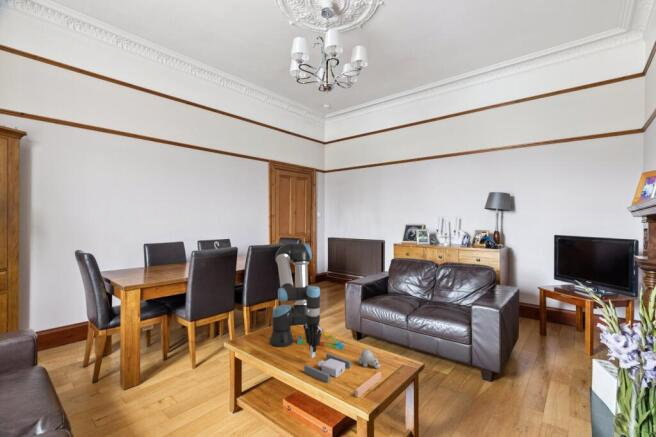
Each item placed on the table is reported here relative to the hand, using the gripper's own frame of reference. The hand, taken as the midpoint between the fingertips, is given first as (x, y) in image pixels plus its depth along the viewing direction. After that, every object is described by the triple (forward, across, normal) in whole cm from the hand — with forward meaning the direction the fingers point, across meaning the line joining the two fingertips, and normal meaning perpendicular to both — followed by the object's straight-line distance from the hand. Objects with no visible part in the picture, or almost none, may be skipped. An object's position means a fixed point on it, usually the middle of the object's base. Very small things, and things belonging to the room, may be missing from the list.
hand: (312, 357), depth 171 cm
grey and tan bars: (+4, +20, 0) cm, 20 cm away
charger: (+4, +11, +1) cm, 12 cm away
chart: (+4, -13, +22) cm, 26 cm away
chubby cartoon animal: (+4, +26, +18) cm, 32 cm away
